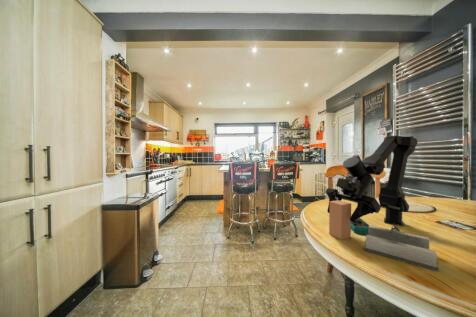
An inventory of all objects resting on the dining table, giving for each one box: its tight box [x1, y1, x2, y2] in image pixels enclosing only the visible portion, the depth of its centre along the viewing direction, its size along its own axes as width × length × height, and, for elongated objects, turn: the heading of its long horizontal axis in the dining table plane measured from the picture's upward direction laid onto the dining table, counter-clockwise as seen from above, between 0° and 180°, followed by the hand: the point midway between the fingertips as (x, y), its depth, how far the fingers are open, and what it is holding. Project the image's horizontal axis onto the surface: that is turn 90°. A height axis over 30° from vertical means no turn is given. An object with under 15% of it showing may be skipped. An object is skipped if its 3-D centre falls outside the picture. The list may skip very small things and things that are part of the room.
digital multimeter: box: [351, 217, 370, 235], centre depth 75 cm, size 7×15×3 cm, turn 168°
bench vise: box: [363, 224, 440, 272], centre depth 59 cm, size 20×16×4 cm
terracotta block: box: [328, 200, 352, 240], centre depth 67 cm, size 5×5×12 cm
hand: (338, 216), depth 67 cm, fingers open, 9 cm apart
